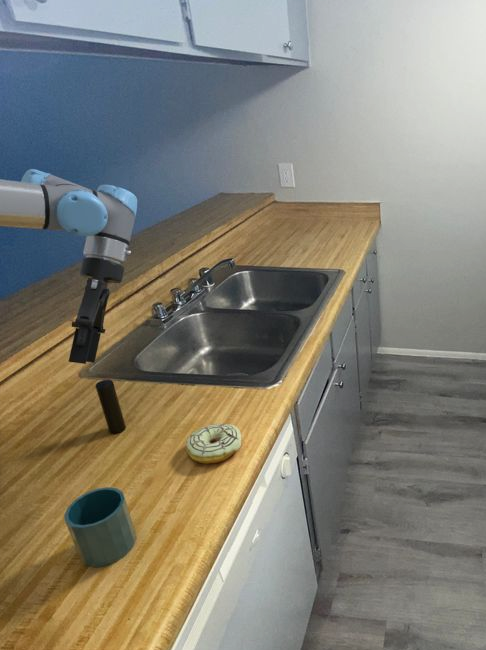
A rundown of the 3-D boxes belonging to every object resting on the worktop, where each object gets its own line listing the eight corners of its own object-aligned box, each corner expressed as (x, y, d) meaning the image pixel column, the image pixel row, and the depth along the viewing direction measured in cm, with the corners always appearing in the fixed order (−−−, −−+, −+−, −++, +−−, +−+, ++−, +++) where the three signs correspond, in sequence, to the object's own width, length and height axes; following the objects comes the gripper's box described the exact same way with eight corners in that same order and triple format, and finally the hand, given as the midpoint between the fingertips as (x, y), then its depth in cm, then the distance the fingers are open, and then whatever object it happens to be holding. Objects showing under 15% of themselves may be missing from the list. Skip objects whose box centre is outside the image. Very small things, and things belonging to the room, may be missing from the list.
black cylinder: (108, 428, 104) (94, 382, 99) (124, 423, 106) (111, 377, 100) (110, 435, 102) (96, 389, 96) (127, 430, 104) (114, 384, 98)
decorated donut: (251, 452, 99) (249, 438, 97) (199, 475, 93) (196, 460, 91) (230, 427, 106) (228, 413, 104) (181, 447, 99) (178, 433, 98)
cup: (77, 541, 78) (61, 502, 74) (130, 518, 83) (118, 480, 79) (84, 576, 73) (68, 536, 69) (141, 549, 77) (129, 510, 73)
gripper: (120, 254, 89) (96, 366, 86) (128, 274, 111) (109, 363, 108) (72, 244, 85) (46, 360, 83) (90, 266, 107) (70, 358, 105)
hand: (82, 362), depth 95 cm, fingers open, 13 cm apart
